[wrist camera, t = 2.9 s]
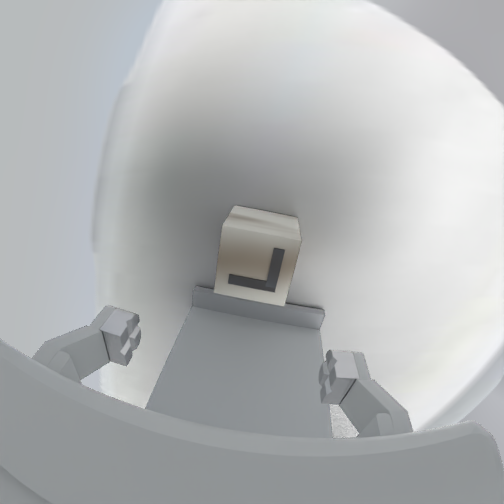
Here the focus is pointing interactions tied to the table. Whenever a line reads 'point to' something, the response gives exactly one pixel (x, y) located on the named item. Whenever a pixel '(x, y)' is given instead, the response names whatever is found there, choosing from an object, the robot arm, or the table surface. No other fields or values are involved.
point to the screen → (246, 368)
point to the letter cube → (257, 255)
